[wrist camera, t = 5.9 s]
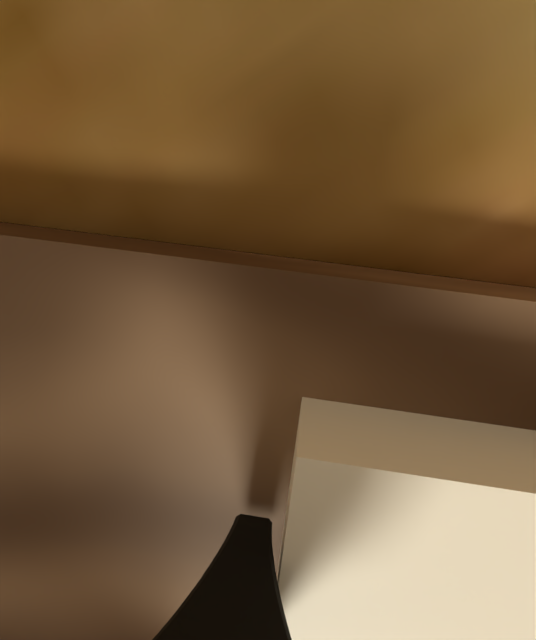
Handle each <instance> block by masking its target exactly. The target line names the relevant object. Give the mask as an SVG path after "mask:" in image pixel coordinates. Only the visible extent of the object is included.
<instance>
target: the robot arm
mask: <svg viewBox="0 0 536 640" xmlns="http://www.w3.org/2000/svg"><path fill="white" fill-rule="evenodd" d="M152 640H292V639H291V636H290V632H289V628H288V625H287V621H286V617H285V613H284V609H283V605H282V601H281V596H280V591H279V586H278V581H277V576H276V570H275V564H274V556H273V547H272V522H271V521H270V519H269V518H264V517H258V516H252V515H245V514H240V515H238V516H236V518H235V520H234V523H233V525H232V527H231V529H230V531H229V533H228V535H227V537H226V539H225V541H224V542H223V544H222V546H221V547H220V549H219V551H218V553H217V554H216V556H215V557H214V559H213V560H212V562H211V563H210V565H209V567H208V568H207V570H206V571H205V573H204V574H203V576H202V577H201V579H200V580H199V581H198V583H197V584H196V586H195V587H194V588H193V590H192V591H191V592H190V594H189V595H188V596H187V598H186V599H185V600H184V602H183V603H182V604H181V606H180V607H179V608H178V610H177V611H176V612H175V613H174V615H173V616H172V617H171V618H170V619H169V621H168V622H167V623H166V624H165V625H164V627H163V628H162V629H161V630H160V631H159V632H158V634H157V635H156V636H155V637H154V638H153V639H152Z"/></svg>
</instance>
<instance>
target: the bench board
mask: <svg viewBox="0 0 536 640" xmlns="http://www.w3.org/2000/svg"><path fill="white" fill-rule="evenodd" d="M302 397H307V398H314V399H320V400H327V401H334V402H341V403H348V404H355V405H362V406H369V407H376V408H383V409H390V410H397V411H404V412H411V413H417V414H424V415H431V416H438V417H445V418H452V419H459V420H466V421H473V422H480V423H487V424H494V425H501V426H508V427H514V428H521V429H528V430H535V431H536V288H531V287H523V286H515V285H506V284H498V283H490V282H482V281H474V280H466V279H458V278H450V277H442V276H433V275H425V274H417V273H409V272H401V271H393V270H385V269H377V268H368V267H360V266H352V265H344V264H336V263H328V262H320V261H312V260H304V259H295V258H287V257H279V256H271V255H263V254H255V253H247V252H239V251H230V250H222V249H214V248H206V247H198V246H190V245H182V244H174V243H166V242H157V241H149V240H141V239H133V238H125V237H117V236H109V235H101V234H93V233H84V232H76V231H68V230H60V229H52V228H44V227H36V226H28V225H19V224H11V223H3V222H0V640H152V639H153V638H154V637H155V636H156V635H157V634H158V632H159V631H160V630H161V629H162V628H163V627H164V625H165V624H166V623H167V622H168V621H169V619H170V618H171V617H172V616H173V615H174V613H175V612H176V611H177V610H178V608H179V607H180V606H181V604H182V603H183V602H184V600H185V599H186V598H187V596H188V595H189V594H190V592H191V591H192V590H193V588H194V587H195V586H196V584H197V583H198V581H199V580H200V579H201V577H202V576H203V574H204V573H205V571H206V570H207V568H208V567H209V565H210V563H211V562H212V560H213V559H214V557H215V556H216V554H217V553H218V551H219V549H220V547H221V546H222V544H223V542H224V541H225V539H226V537H227V535H228V533H229V531H230V529H231V527H232V525H233V523H234V520H235V518H236V516H238V515H240V514H245V515H252V516H258V517H264V518H269V519H270V521H271V522H272V547H273V556H274V564H275V570H276V576H277V571H278V564H279V557H280V550H281V543H282V536H283V529H284V522H285V514H286V507H287V500H288V493H289V486H290V479H291V472H292V465H293V458H294V450H295V443H296V436H297V429H298V422H299V415H300V408H301V401H302Z"/></svg>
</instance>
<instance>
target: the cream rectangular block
mask: <svg viewBox="0 0 536 640" xmlns="http://www.w3.org/2000/svg"><path fill="white" fill-rule="evenodd" d="M277 581H278V586H279V591H280V596H281V601H282V605H283V609H284V613H285V617H286V621H287V625H288V628H289V632H290V636H291V639H292V640H536V431H535V430H528V429H521V428H514V427H508V426H501V425H494V424H487V423H480V422H473V421H466V420H459V419H452V418H445V417H438V416H431V415H424V414H417V413H411V412H404V411H397V410H390V409H383V408H376V407H369V406H362V405H355V404H348V403H341V402H334V401H327V400H320V399H314V398H307V397H302V401H301V408H300V415H299V422H298V429H297V436H296V443H295V450H294V458H293V465H292V472H291V479H290V486H289V493H288V500H287V507H286V514H285V522H284V529H283V536H282V543H281V550H280V557H279V564H278V571H277Z"/></svg>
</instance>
